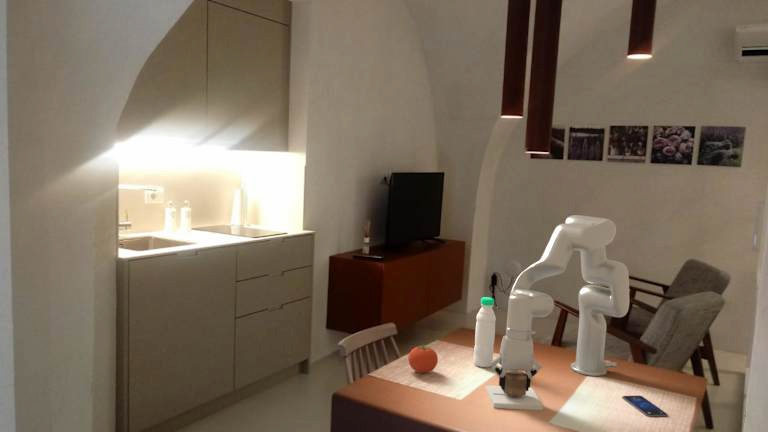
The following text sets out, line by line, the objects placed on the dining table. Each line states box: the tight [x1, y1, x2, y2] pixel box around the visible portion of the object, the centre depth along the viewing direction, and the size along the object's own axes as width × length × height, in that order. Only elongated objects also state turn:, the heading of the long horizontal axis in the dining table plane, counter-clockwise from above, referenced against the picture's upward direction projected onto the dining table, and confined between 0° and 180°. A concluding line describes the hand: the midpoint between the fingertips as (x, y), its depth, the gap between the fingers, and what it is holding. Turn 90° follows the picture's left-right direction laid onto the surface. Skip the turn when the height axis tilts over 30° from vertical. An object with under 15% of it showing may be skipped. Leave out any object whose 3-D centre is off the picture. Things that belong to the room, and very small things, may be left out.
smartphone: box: [621, 395, 669, 418], centre depth 187 cm, size 7×1×15 cm
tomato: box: [408, 344, 439, 374], centre depth 206 cm, size 10×10×10 cm
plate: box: [485, 385, 544, 411], centre depth 186 cm, size 15×14×6 cm
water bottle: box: [472, 296, 497, 368], centre depth 216 cm, size 7×7×25 cm
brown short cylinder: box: [503, 370, 527, 396], centre depth 186 cm, size 7×7×6 cm
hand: (514, 388), depth 186 cm, fingers closed on brown short cylinder, 6 cm apart
